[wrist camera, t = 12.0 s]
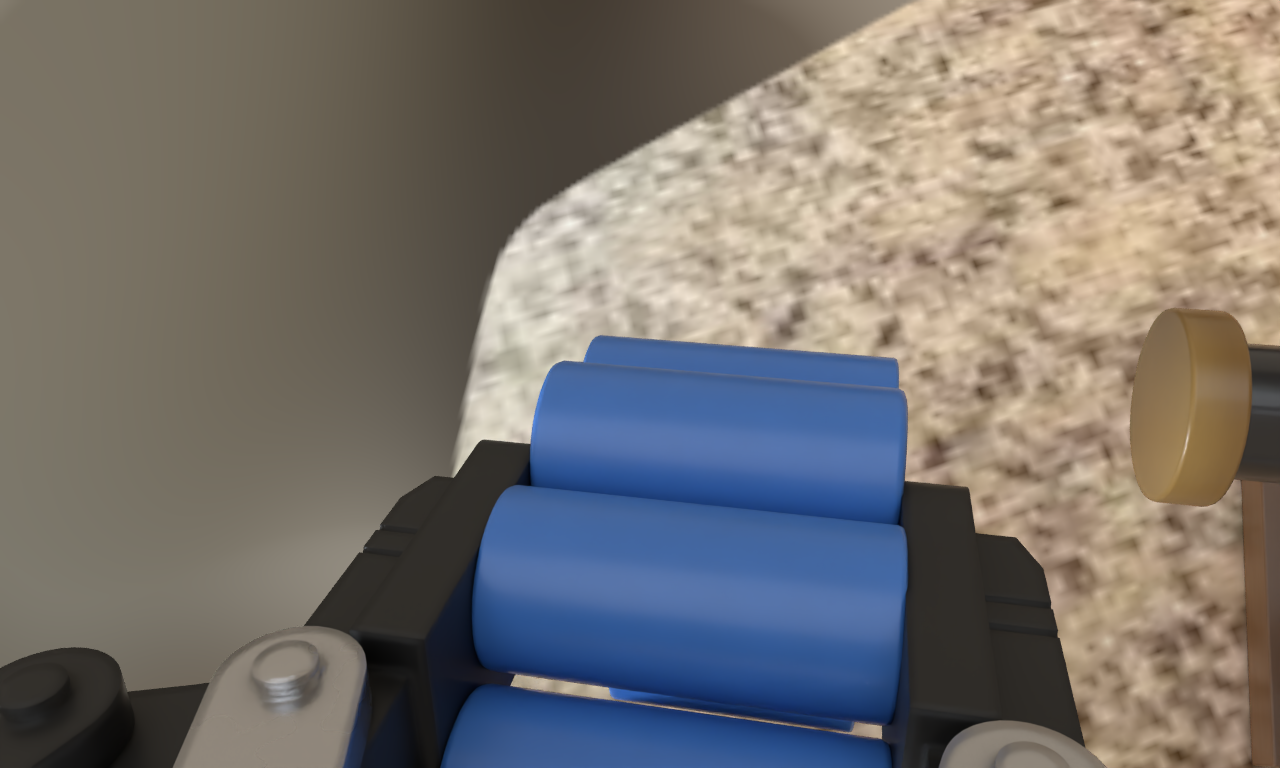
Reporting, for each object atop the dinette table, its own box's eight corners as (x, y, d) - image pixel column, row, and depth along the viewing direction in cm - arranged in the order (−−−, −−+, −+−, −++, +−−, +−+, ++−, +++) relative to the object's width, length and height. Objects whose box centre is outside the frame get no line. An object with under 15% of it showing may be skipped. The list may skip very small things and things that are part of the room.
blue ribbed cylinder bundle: (868, 469, 19) (929, 234, 10) (827, 1051, 16) (859, 1427, 7) (655, 448, 20) (539, 212, 11) (579, 1003, 17) (338, 1290, 8)
